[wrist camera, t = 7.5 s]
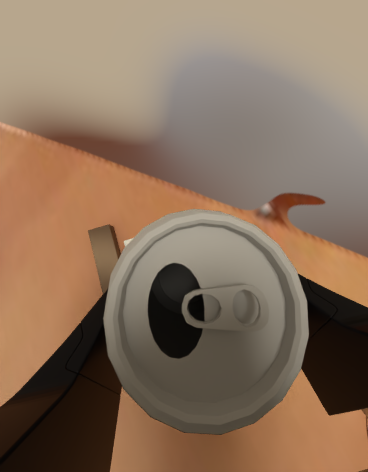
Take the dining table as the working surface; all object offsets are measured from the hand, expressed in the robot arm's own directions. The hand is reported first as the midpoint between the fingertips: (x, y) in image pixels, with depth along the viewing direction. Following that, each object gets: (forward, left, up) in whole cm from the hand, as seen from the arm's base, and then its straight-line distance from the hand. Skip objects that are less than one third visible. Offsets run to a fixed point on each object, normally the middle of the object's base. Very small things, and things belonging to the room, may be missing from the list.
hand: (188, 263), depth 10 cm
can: (-1, -1, -7) cm, 7 cm away
